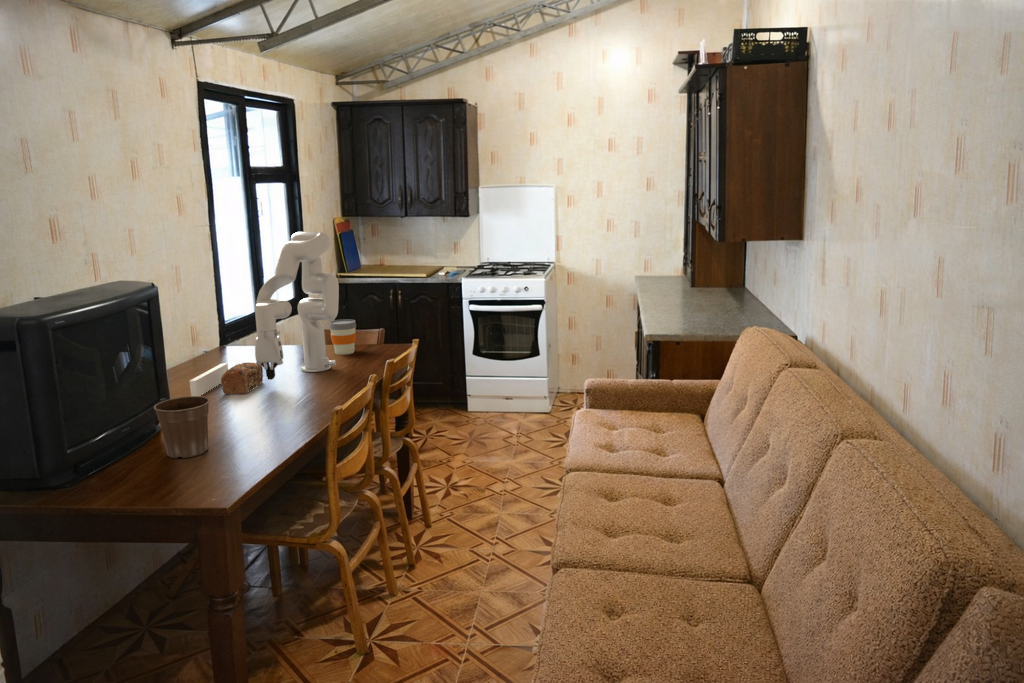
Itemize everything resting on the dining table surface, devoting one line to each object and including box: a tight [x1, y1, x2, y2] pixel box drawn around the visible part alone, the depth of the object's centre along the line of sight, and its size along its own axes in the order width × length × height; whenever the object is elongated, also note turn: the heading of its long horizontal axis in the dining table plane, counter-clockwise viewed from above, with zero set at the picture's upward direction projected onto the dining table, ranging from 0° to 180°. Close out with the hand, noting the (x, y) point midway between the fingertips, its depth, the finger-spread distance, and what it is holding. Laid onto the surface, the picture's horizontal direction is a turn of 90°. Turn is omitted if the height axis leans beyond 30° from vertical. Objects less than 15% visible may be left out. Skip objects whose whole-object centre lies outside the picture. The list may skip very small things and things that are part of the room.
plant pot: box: [153, 395, 211, 459], centre depth 253 cm, size 16×16×16 cm
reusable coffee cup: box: [329, 318, 357, 356], centre depth 386 cm, size 13×13×15 cm
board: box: [189, 362, 229, 397], centre depth 329 cm, size 2×28×7 cm, turn 174°
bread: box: [220, 362, 264, 395], centre depth 327 cm, size 19×11×10 cm, turn 175°
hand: (271, 378), depth 326 cm, fingers closed
